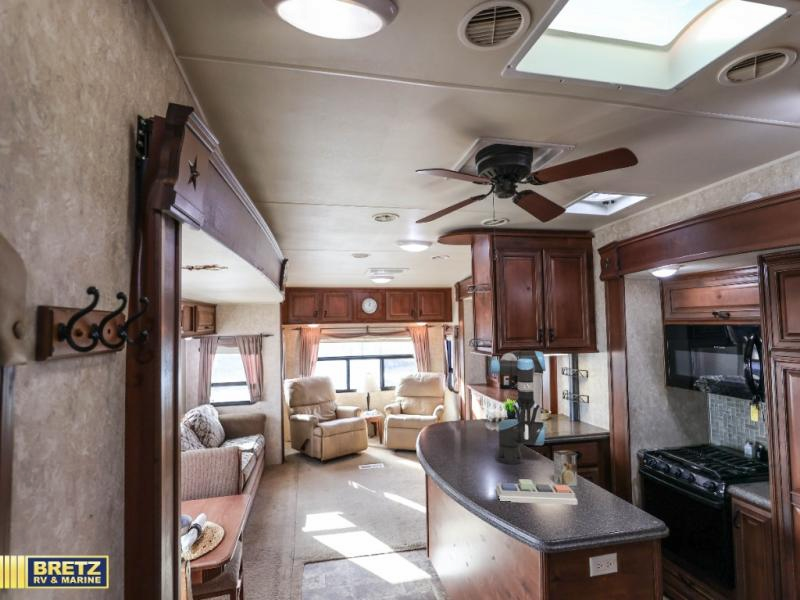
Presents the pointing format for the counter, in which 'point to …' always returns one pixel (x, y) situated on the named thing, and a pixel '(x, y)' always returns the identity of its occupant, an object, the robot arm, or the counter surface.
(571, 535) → the counter surface
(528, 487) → the key sage
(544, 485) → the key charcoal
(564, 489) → the key coral
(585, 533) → the counter surface
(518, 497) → the keypad board
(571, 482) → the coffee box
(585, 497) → the counter surface
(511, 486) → the key slate blue
